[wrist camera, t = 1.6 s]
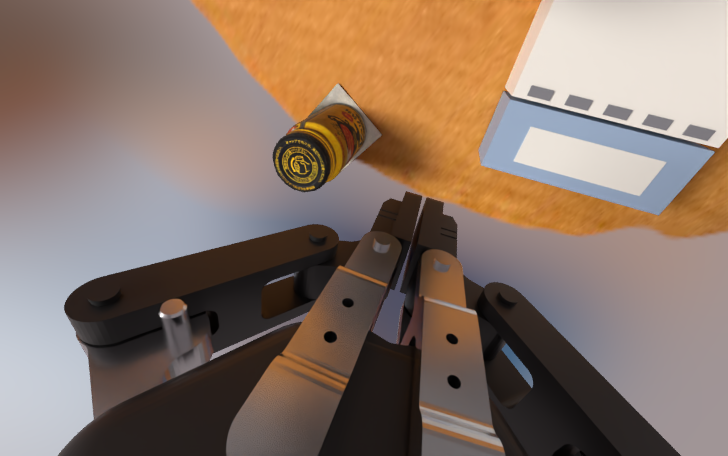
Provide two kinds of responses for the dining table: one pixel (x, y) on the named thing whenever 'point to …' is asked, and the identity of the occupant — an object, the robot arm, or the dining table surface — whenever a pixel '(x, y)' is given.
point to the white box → (631, 64)
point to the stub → (589, 154)
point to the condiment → (323, 142)
